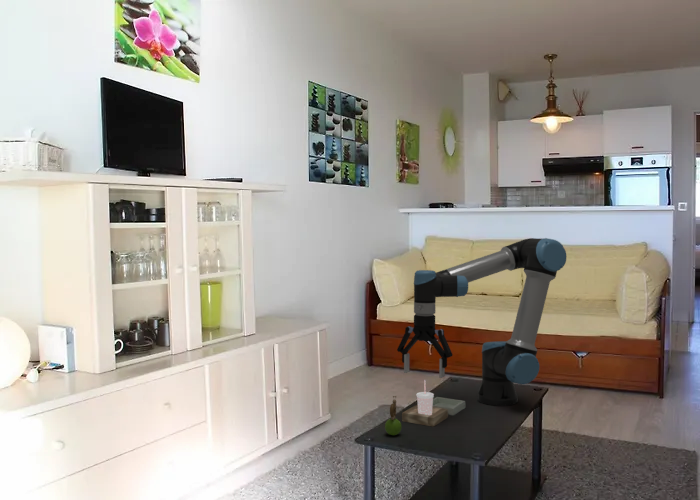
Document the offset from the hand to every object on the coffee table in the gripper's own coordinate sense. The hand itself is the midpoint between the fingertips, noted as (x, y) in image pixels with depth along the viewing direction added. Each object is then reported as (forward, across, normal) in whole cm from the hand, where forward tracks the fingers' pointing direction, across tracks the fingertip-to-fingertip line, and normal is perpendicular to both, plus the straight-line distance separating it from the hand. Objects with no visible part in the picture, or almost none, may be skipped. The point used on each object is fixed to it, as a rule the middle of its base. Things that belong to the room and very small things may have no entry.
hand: (424, 374), depth 224 cm
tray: (+16, +1, +15) cm, 22 cm away
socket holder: (+16, 0, 0) cm, 16 cm away
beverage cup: (+16, 0, 0) cm, 16 cm away
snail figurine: (+16, -2, -20) cm, 26 cm away
